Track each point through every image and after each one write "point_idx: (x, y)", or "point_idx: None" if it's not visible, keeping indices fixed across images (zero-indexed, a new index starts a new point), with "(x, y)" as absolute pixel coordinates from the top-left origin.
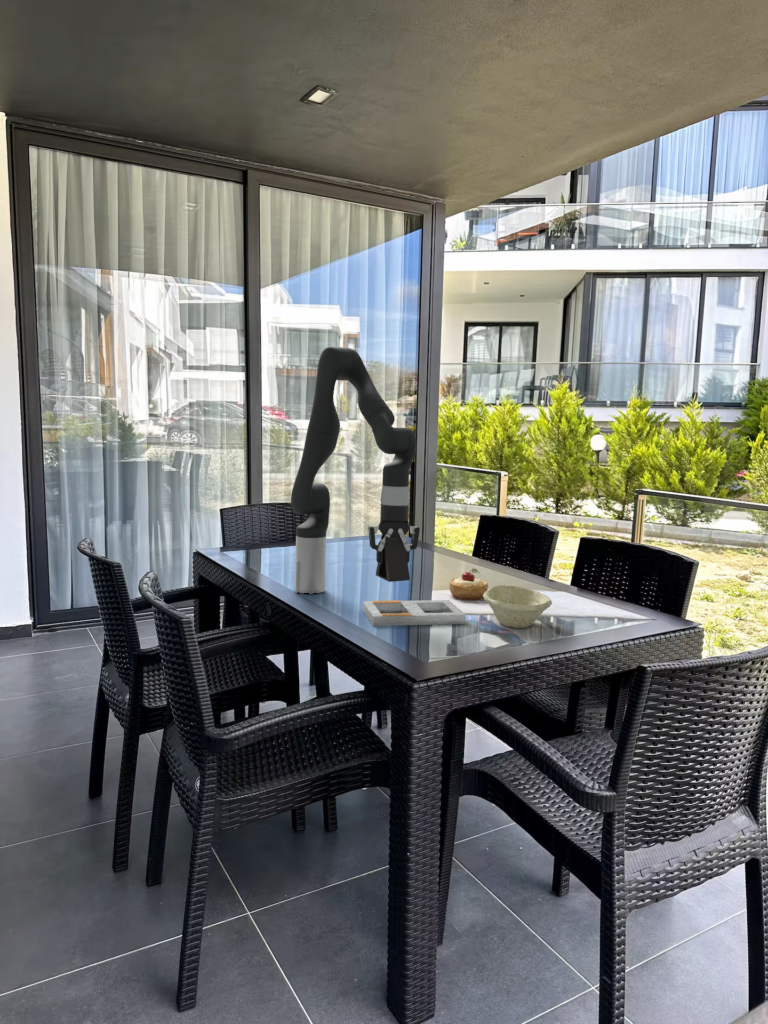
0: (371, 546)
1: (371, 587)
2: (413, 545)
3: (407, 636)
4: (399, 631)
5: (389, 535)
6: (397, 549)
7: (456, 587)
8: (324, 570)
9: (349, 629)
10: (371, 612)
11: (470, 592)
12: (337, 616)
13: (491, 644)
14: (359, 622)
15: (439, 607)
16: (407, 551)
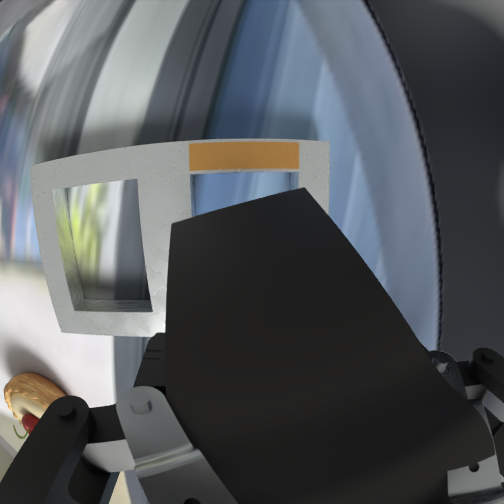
0: (499, 354)
1: None
2: (74, 426)
3: (236, 37)
4: (249, 81)
5: (459, 492)
6: (278, 387)
7: None
8: None
9: (382, 124)
10: (326, 192)
11: (29, 381)
12: (388, 253)
13: (58, 9)
14: (348, 187)
15: (88, 304)
16: (153, 395)
